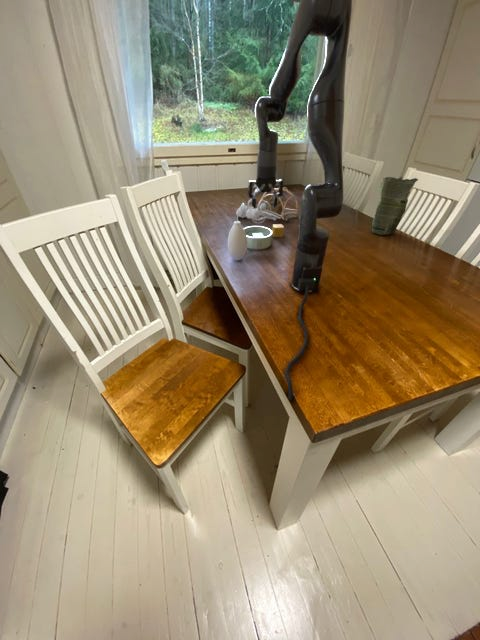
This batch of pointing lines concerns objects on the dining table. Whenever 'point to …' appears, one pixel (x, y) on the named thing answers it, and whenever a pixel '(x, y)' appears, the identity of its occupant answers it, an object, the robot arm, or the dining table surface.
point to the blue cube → (257, 235)
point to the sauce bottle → (237, 241)
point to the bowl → (260, 241)
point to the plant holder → (267, 208)
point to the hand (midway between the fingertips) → (264, 207)
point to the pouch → (391, 204)
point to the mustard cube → (277, 230)
